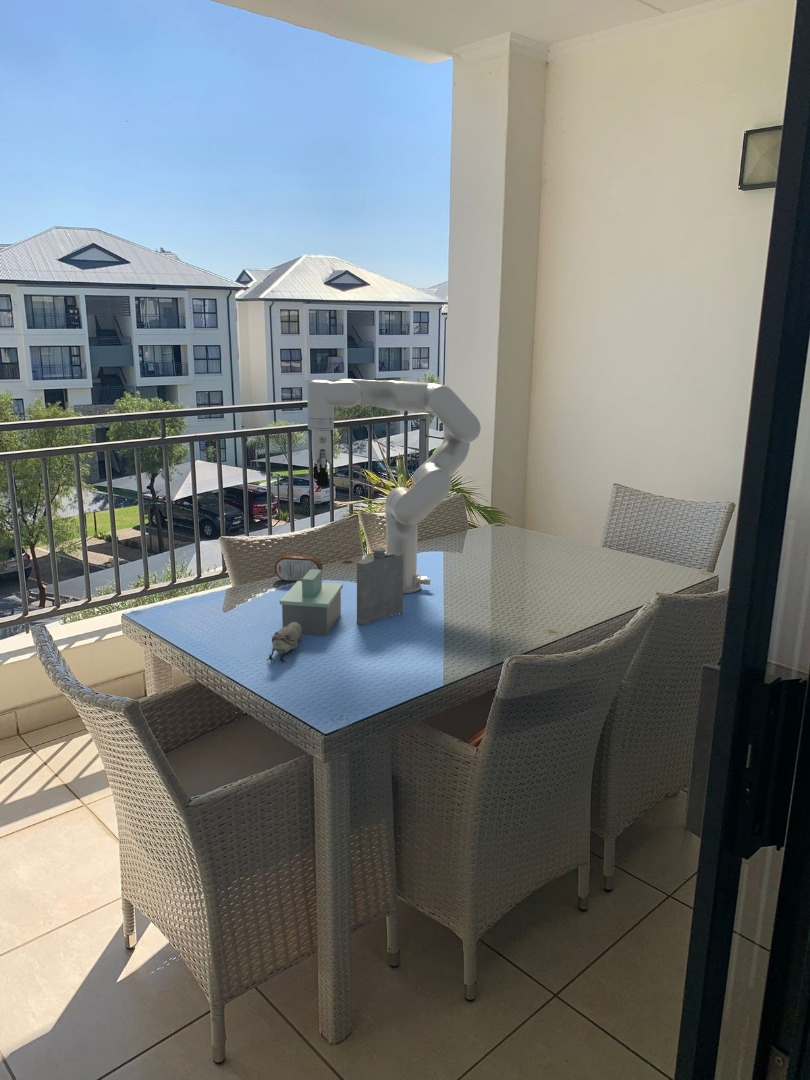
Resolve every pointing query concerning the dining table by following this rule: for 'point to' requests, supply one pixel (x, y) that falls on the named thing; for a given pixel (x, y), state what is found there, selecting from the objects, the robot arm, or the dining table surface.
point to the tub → (313, 617)
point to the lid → (312, 591)
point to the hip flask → (379, 586)
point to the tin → (295, 567)
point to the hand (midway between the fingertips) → (320, 482)
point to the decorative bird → (286, 639)
